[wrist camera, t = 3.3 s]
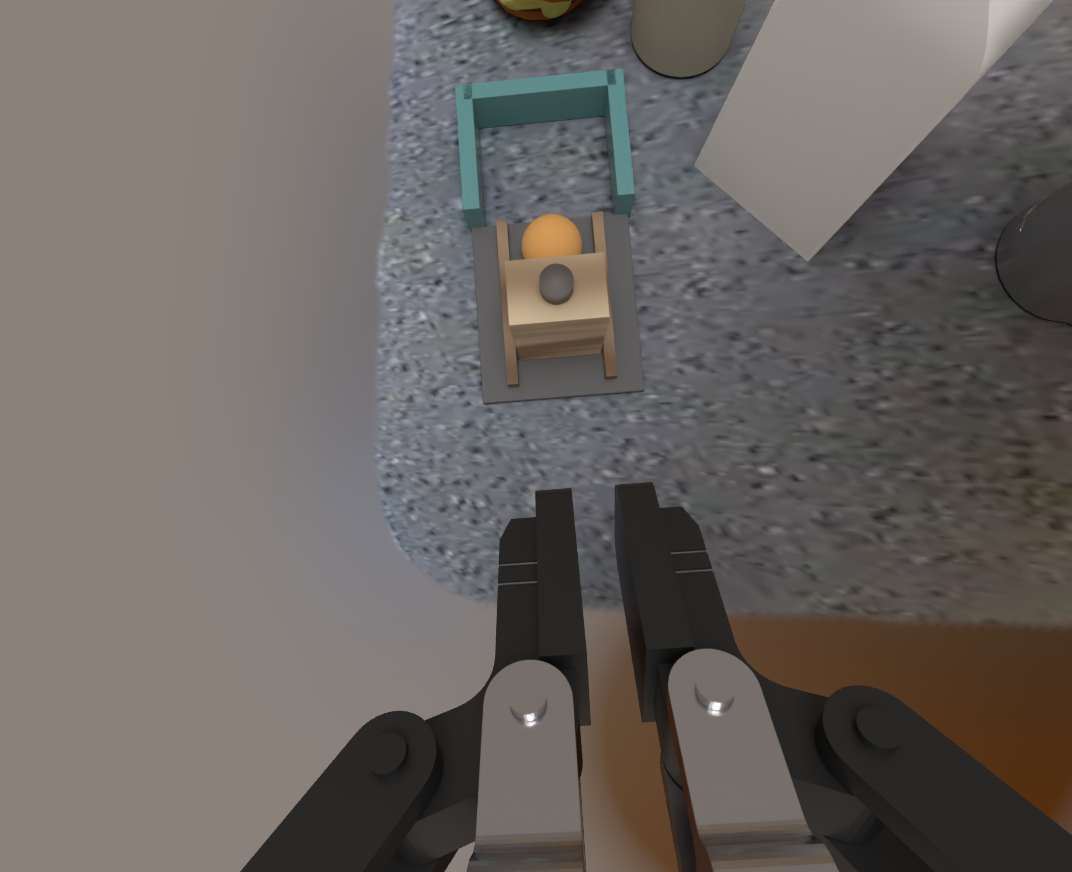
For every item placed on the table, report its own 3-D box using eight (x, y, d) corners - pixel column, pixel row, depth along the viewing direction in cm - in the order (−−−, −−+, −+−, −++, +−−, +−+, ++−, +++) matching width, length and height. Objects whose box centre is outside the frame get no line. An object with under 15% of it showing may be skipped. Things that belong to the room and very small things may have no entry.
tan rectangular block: (600, 353, 44) (611, 309, 34) (520, 360, 44) (506, 318, 34) (595, 301, 44) (605, 242, 34) (516, 308, 45) (502, 251, 34)
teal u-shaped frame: (629, 216, 46) (634, 193, 42) (470, 231, 46) (463, 209, 43) (618, 100, 47) (622, 68, 43) (463, 115, 47) (455, 85, 44)
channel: (615, 379, 44) (617, 375, 43) (508, 387, 44) (507, 384, 43) (601, 218, 45) (602, 211, 44) (497, 228, 45) (496, 221, 44)
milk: (796, 58, 46) (1088, -492, 21) (912, 150, 45) (1376, -312, 19) (693, 166, 46) (860, -260, 20) (808, 261, 45) (1142, -60, 19)
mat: (643, 391, 44) (644, 390, 44) (484, 404, 45) (483, 402, 44) (626, 217, 46) (627, 213, 45) (473, 231, 46) (471, 227, 46)
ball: (593, 258, 45) (596, 232, 41) (551, 298, 45) (550, 276, 40) (552, 219, 45) (551, 189, 41) (511, 258, 45) (506, 233, 41)
